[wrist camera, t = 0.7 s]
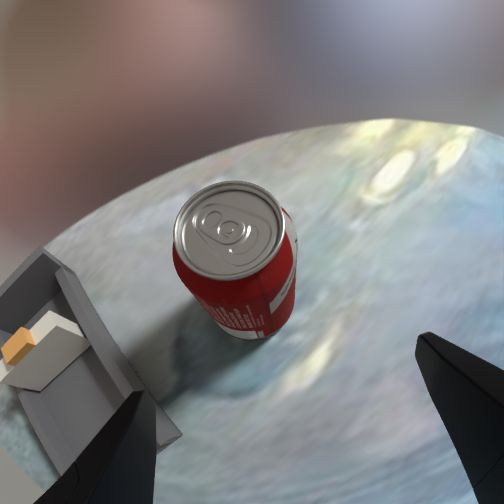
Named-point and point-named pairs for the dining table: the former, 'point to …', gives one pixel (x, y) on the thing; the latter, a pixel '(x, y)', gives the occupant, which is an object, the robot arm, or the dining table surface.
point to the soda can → (238, 257)
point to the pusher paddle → (41, 352)
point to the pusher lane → (77, 372)
